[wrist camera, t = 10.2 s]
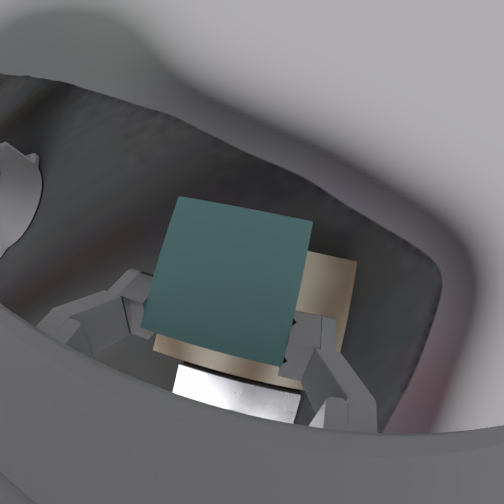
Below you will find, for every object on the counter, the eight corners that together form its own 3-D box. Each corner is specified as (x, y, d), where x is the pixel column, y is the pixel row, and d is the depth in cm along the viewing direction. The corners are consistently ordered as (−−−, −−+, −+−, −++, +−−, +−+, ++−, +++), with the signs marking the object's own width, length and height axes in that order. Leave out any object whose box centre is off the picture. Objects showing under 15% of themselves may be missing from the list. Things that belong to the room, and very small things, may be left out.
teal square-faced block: (197, 329, 16) (139, 327, 9) (218, 253, 17) (179, 196, 10) (277, 349, 15) (281, 367, 8) (295, 269, 16) (312, 221, 9)
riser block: (168, 347, 28) (153, 349, 24) (197, 238, 31) (187, 225, 27) (321, 385, 26) (329, 394, 22) (346, 270, 29) (357, 261, 25)
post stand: (163, 457, 24) (139, 481, 18) (183, 362, 27) (160, 370, 21) (269, 486, 23) (268, 518, 17) (299, 391, 26) (307, 409, 19)
